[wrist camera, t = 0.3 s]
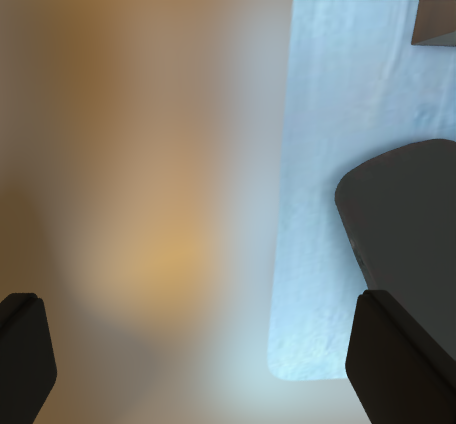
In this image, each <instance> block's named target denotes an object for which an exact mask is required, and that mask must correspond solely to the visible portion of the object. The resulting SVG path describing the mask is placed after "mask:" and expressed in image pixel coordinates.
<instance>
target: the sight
mask: <svg viewBox="0 0 456 424" xmlns="http://www.w3.org/2000/svg"><path fill="white" fill-rule="evenodd" d="M335 203H336V206H337V209H338V211H339V214H340V217H341V219H342V222H343V225H344V227H345V230H346V233H347V235H348V238H349V241H350V243H351V246H352V249H353V251H354V254H355V257H356V259H357V262H358V264H359V266H360V268H361V271H362V273H363V275H364V278H365V281H366V283H367V286H368V290H387V291H388V292H389V293H390V294H391V295H392V296H393V297H394V298H395V299H396V300H397V301H398V302H399V303H400V304H401V305H402V306H403V307H404V309H405V310H406V311H407V312H408V313H409V314H410V315H411V316H412V317H413V318H414V319H415V320H416V321H417V322H418V323H419V324H420V325H421V326H422V327H423V328H424V329H425V330H426V331H427V332H428V333H429V334H430V335H431V337H432V338H433V339H434V340H435V341H436V342H437V343H438V344H439V345H440V346H441V347H442V348H443V349H444V350H445V351H446V352H447V353H448V354H449V355H450V356H451V357H452V358H453V359H454V360H455V361H456V142H454V141H451V140H446V139H432V140H427V141H422V142H417V143H412V144H409V145H406V146H403V147H400V148H397V149H394V150H391V151H388V152H386V153H384V154H381V155H379V156H377V157H375V158H372V159H370V160H368V161H366V162H364V163H362V164H361V165H359V166H358V167H356V168H355V169H353V170H351V171H350V172H348V173H347V174H346V175H345V176H344V177H343V178H342V179H341V181H340V182H339V184H338V186H337V189H336V191H335Z"/></svg>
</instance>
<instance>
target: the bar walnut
mask: <svg viewBox="0 0 456 424" xmlns="http://www.w3.org/2000/svg"><path fill="white" fill-rule="evenodd" d="M411 44H412V45H432V46H456V0H419V5H418V11H417V16H416V21H415V27H414V32H413V37H412V43H411Z"/></svg>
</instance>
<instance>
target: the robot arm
mask: <svg viewBox="0 0 456 424" xmlns="http://www.w3.org/2000/svg"><path fill="white" fill-rule="evenodd" d="M345 369H346V373H347V376H348V378H349V380H350V382H351V384H352V386H353V388H354V390H355V392H356V394H357V396H358V398H359V400H360V402H361V403H362V406H363V408H364V409H365V412H366V413H367V416H368V417H369V419H370V421H371V423H372V424H456V361H455V360H454V359H453V358H452V357H451V356H450V355H449V354H448V353H447V352H446V351H445V350H444V349H443V348H442V347H441V346H440V345H439V344H438V343H437V342H436V341H435V340H434V339H433V338H432V337H431V335H430V334H429V333H428V332H427V331H426V330H425V329H424V328H423V327H422V326H421V325H420V324H419V323H418V322H417V321H416V320H415V319H414V318H413V317H412V316H411V315H410V314H409V313H408V312H407V311H406V310H405V309H404V307H403V306H402V305H401V304H400V303H399V302H398V301H397V300H396V299H395V298H394V297H393V296H392V295H391V294H390V293H389V292H388V291H387V290H365V291H364V292H363V295H359V296H358V299H357V304H356V310H355V315H354V320H353V325H352V331H351V336H350V341H349V346H348V352H347V357H346V362H345ZM56 377H57V368H56V363H55V358H54V353H53V348H52V343H51V337H50V333H49V328H48V322H47V317H46V312H45V307H44V302H43V300H42V299H41V298H38V297H37V295H36V294H34V293H12V294H10V295H8V296H7V297H6V298H5V299H4V300H3V301H2V302H1V303H0V424H33V422H34V420H35V418H36V416H37V415H38V413H39V411H40V409H41V407H42V406H43V404H44V402H45V400H46V398H47V397H48V395H49V393H50V391H51V390H52V388H53V386H54V384H55V381H56Z"/></svg>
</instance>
